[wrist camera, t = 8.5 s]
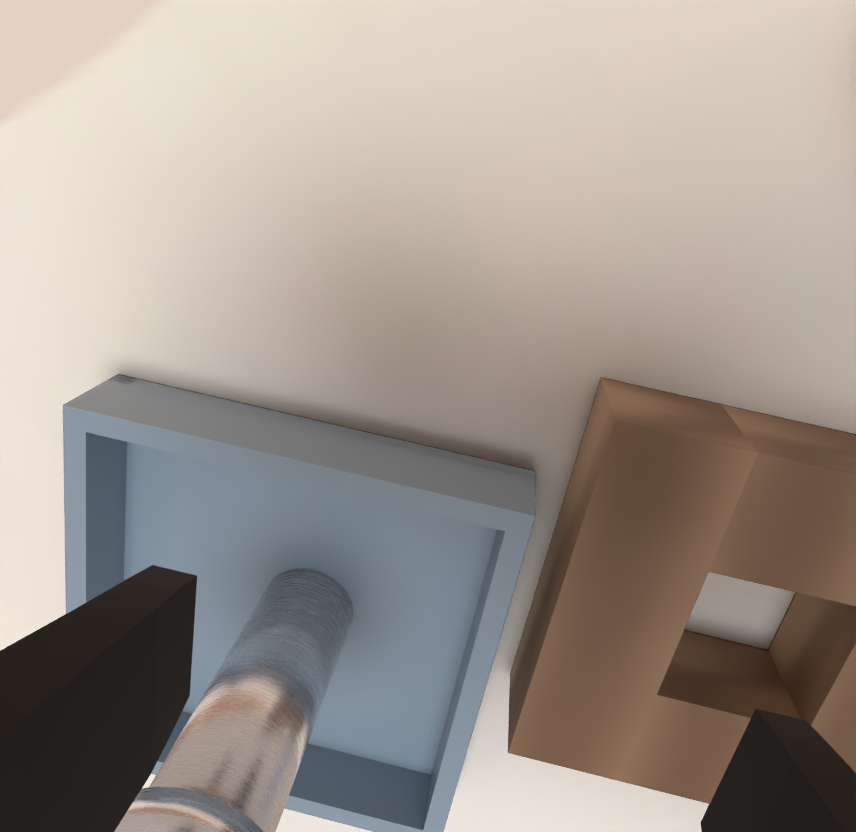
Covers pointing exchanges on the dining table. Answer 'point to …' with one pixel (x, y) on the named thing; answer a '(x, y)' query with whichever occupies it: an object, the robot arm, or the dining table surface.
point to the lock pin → (252, 716)
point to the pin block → (687, 592)
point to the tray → (318, 550)
